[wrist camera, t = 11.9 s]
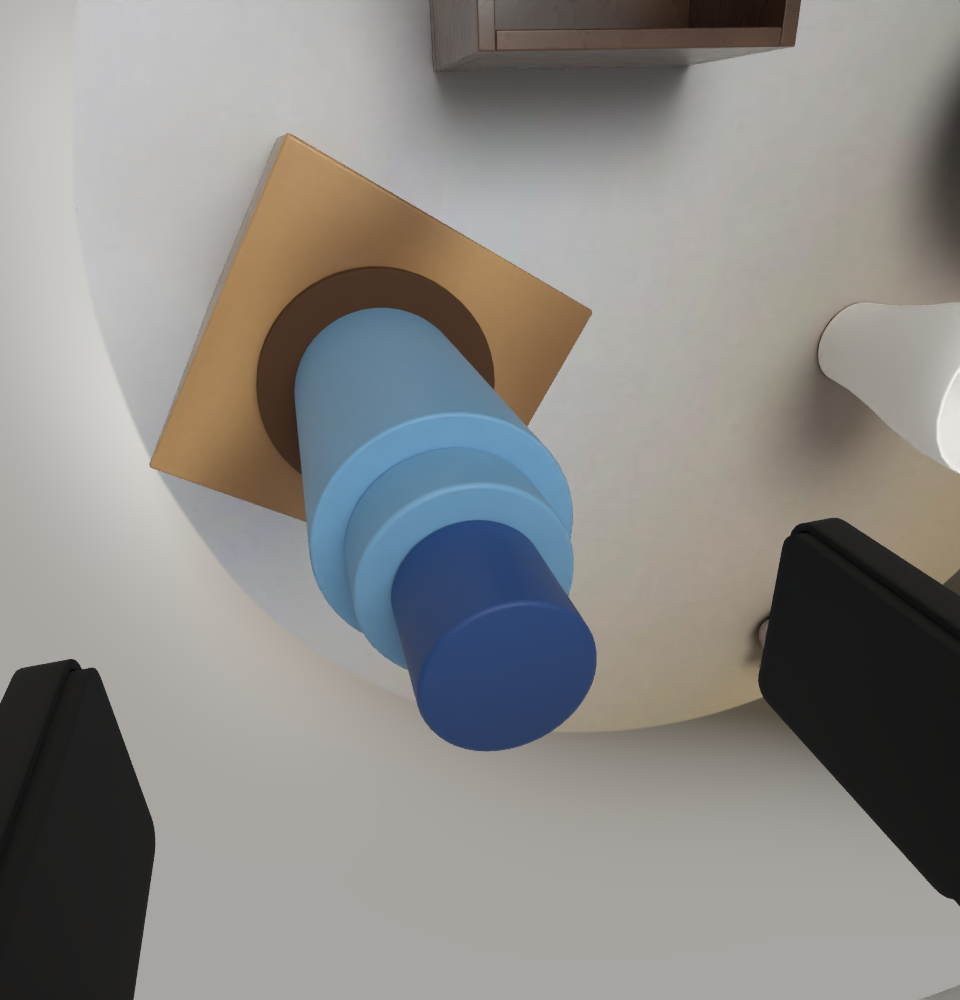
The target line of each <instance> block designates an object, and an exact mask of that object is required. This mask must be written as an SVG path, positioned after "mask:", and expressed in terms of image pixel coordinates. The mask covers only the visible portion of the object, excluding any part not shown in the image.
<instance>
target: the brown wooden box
mask: <svg viewBox="0 0 960 1000" xmlns="http://www.w3.org/2000/svg"><path fill="white" fill-rule="evenodd" d="M800 3H801V0H430V17H431V35H432V52H433V70H434V71H462V70H507V69H552V68H598V67H643V66H688V65H695V64H701V63H706V62H712V61H717V60H723V59H728V58H734V57H739V56H745V55H750V54H756V53H761V52H767V51H772V50H778V49H783V48H789V47H794V46H795V39H796V32H797V25H798V18H799V11H800Z"/></svg>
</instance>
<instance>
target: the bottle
mask: <svg viewBox="0 0 960 1000" xmlns="http://www.w3.org/2000/svg"><path fill="white" fill-rule="evenodd" d="M294 395H295V408H296V418H297V428H298V439H299V449H300V459H301V470H302V480H303V490H304V500H305V511H306V521H307V531H308V542H309V552H310V560H311V564H312V569H313V573H314V576H315V579H316V581H317V584H318V586H319V588H320V590H321V592H322V594H323V595H324V597H325V599H326V601H327V602H328V603H329V604H330V606H331V607H332V608H333V609H334V611H335V612H336V613H337V614H338V615H339V616H340V617H341V618H343V619H344V620H345V621H346V622H347V623H348V624H350V625H351V626H352V627H354V628H355V629H357V630H358V631H360V632H361V633H363V634H364V635H365V637H366V638H367V639H368V641H369V642H370V643H371V644H372V646H373V647H374V648H375V649H377V650H378V651H379V652H380V653H381V654H382V655H383V656H384V657H386V658H387V659H389V660H390V661H392V662H393V663H395V664H397V665H399V666H401V667H403V668H405V669H408V671H409V675H410V678H411V682H412V686H413V690H414V694H415V697H416V701H417V705H418V708H419V711H420V714H421V716H422V717H423V719H424V721H425V722H426V724H427V725H428V726H429V727H430V729H431V730H433V731H434V732H435V733H436V734H437V735H438V736H439V737H441V738H442V739H444V740H445V741H447V742H449V743H451V744H453V745H455V746H458V747H461V748H465V749H469V750H475V751H499V750H505V749H511V748H515V747H518V746H522V745H524V744H527V743H530V742H532V741H535V740H537V739H538V738H541V737H543V736H544V735H546V734H548V733H550V732H551V731H553V730H554V729H555V728H557V727H558V726H560V725H561V724H562V723H563V722H564V721H565V720H567V719H568V718H569V717H570V716H571V715H572V714H573V713H574V711H575V710H576V709H577V708H578V707H579V705H580V704H581V703H582V701H583V700H584V698H585V696H586V695H587V693H588V691H589V689H590V687H591V685H592V682H593V679H594V675H595V670H596V647H595V642H594V639H593V636H592V634H591V632H590V630H589V628H588V626H587V625H586V623H585V622H584V620H583V619H582V617H581V616H580V614H579V612H578V611H577V609H576V608H575V606H574V605H573V603H572V602H571V600H570V599H569V597H568V595H569V591H570V587H571V584H572V577H573V551H572V545H571V541H570V539H571V532H572V524H573V509H572V501H571V495H570V490H569V487H568V484H567V481H566V478H565V476H564V474H563V472H562V470H561V468H560V466H559V464H558V463H557V461H556V460H555V458H554V457H553V455H552V454H551V453H550V451H549V450H548V449H547V448H546V447H545V446H544V445H543V444H542V443H541V442H540V440H539V439H538V438H537V437H536V436H535V435H534V434H533V433H532V432H531V430H530V429H529V428H528V427H527V426H526V425H525V424H524V423H523V422H522V421H521V419H520V418H519V417H518V416H517V415H516V414H515V413H514V412H513V411H512V409H511V408H510V407H509V406H508V405H507V404H506V403H505V402H504V401H503V399H502V398H501V397H500V396H499V395H498V394H497V393H496V392H495V391H494V390H493V388H492V387H491V386H490V385H489V384H488V383H487V382H486V381H485V380H484V378H483V377H482V376H481V375H480V374H479V373H478V372H477V371H476V370H475V369H474V367H473V366H472V365H471V364H470V363H469V362H468V361H467V360H466V359H465V357H464V356H463V355H462V354H461V353H460V352H459V351H458V350H457V349H456V348H455V346H454V345H453V344H452V343H451V342H450V341H449V340H448V339H447V338H446V337H445V335H444V334H443V333H442V332H441V331H440V330H439V329H437V328H436V327H435V326H434V325H433V324H431V323H430V322H428V321H426V320H425V319H423V318H422V317H419V316H417V315H415V314H412V313H410V312H406V311H403V310H399V309H392V308H371V309H364V310H360V311H356V312H353V313H350V314H348V315H345V316H343V317H341V318H339V319H338V320H336V321H334V322H332V323H331V324H330V325H328V326H327V327H326V328H324V329H323V330H322V331H321V332H320V333H319V334H318V335H317V336H316V337H315V338H314V339H313V341H312V342H311V343H310V345H309V346H308V347H307V349H306V351H305V353H304V355H303V357H302V359H301V361H300V364H299V366H298V369H297V374H296V378H295V388H294Z"/></svg>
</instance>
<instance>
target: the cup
mask: <svg viewBox="0 0 960 1000" xmlns="http://www.w3.org/2000/svg"><path fill="white" fill-rule="evenodd" d="M818 359H819V364H820V367H821V370H822V371H823V373H824V374H825V375H826V376H827V377H828V378H830V379H832V380H833V381H835V382H837V383H838V384H840V385H842V386H843V387H845V388H847V389H848V390H850V391H851V392H852V393H853V394H854V395H856V396H857V397H858V398H859V399H860V400H862V401H863V402H864V403H865V404H866V405H867V406H869V407H870V408H871V409H872V410H873V411H874V412H875V413H876V414H877V415H878V416H879V417H880V418H881V419H882V420H883V421H884V422H885V423H886V424H887V425H888V426H889V427H890V428H891V429H892V430H894V431H895V432H896V433H897V434H899V435H900V436H901V437H902V438H904V439H905V440H906V441H907V442H909V443H910V444H911V445H912V446H914V447H915V448H916V449H917V450H919V451H920V452H922V453H923V454H925V455H927V456H928V457H930V458H932V459H933V460H935V461H937V462H938V463H940V464H942V465H943V466H945V467H947V468H948V469H950V470H952V471H954V472H956V473H958V474H960V302H954V303H943V304H931V305H900V306H892V305H884V304H876V303H868V302H862V303H856V304H853V305H851V306H849V307H846V308H845V309H844V310H842V311H841V312H839V313H838V314H837V315H836V316H835V317H834V318H833V319H832V321H831V322H830V323H829V324H828V326H827V328H826V329H825V331H824V333H823V335H822V338H821V340H820V344H819V350H818Z"/></svg>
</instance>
